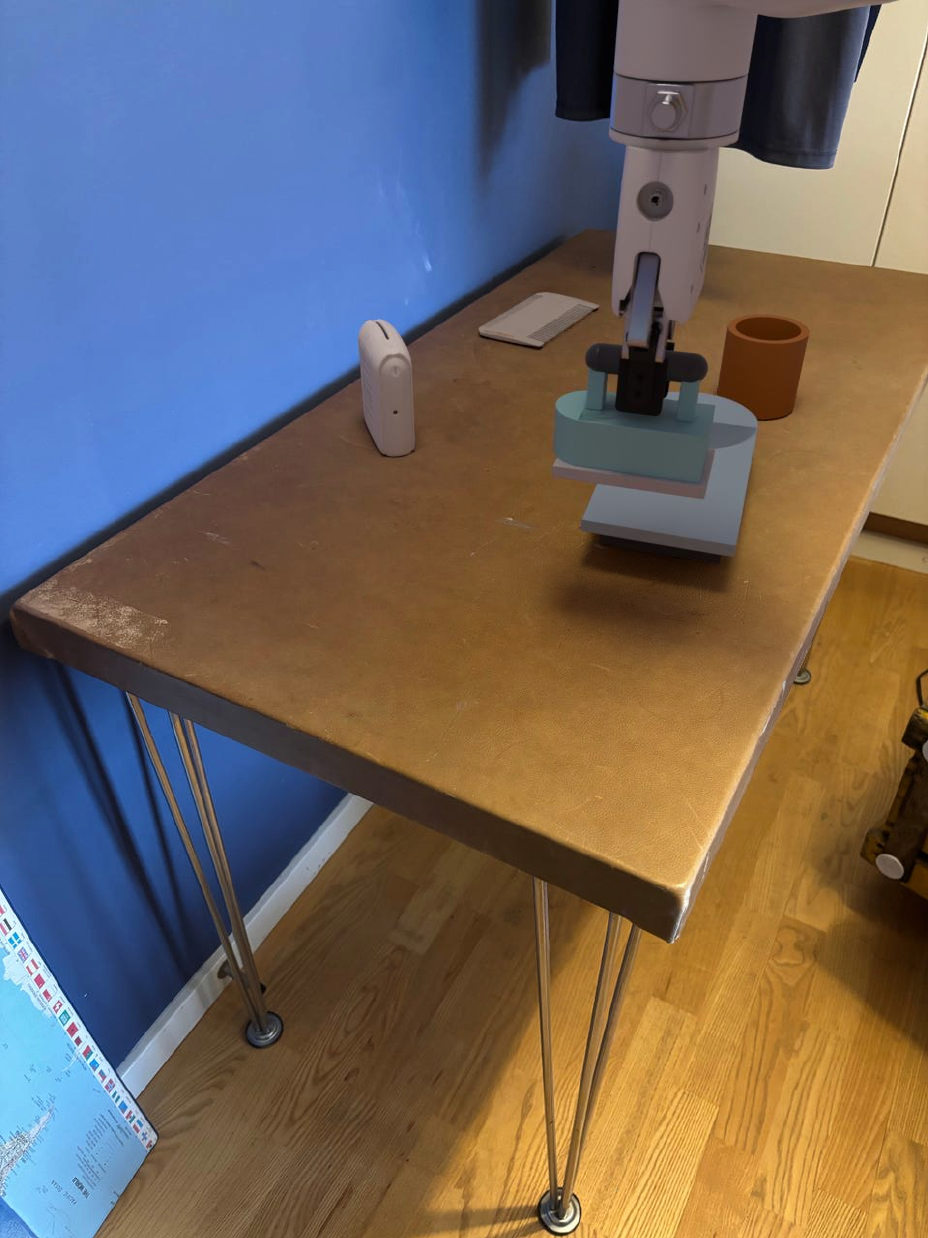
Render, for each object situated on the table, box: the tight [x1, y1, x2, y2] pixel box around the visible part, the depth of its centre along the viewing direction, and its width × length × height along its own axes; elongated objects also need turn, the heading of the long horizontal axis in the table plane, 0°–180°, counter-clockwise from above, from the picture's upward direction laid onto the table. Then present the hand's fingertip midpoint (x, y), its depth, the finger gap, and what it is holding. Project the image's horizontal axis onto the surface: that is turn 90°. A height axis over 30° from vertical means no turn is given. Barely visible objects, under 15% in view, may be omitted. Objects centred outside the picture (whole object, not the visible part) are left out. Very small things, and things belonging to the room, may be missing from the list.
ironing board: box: [580, 390, 759, 565], centre depth 89 cm, size 13×28×5 cm, turn 161°
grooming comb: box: [478, 291, 601, 348], centre depth 127 cm, size 18×10×1 cm, turn 147°
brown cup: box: [716, 314, 811, 420], centre depth 105 cm, size 9×12×9 cm
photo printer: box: [357, 318, 416, 457], centre depth 97 cm, size 10×4×12 cm, turn 17°
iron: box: [551, 342, 715, 499], centre depth 65 cm, size 12×6×9 cm, turn 72°
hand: (641, 401), depth 64 cm, fingers closed on iron
